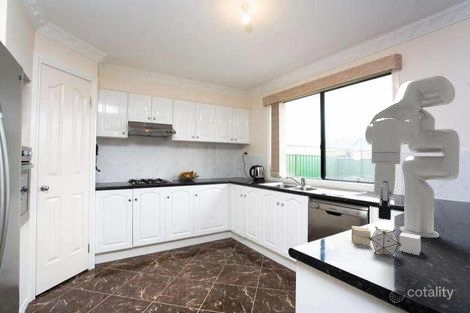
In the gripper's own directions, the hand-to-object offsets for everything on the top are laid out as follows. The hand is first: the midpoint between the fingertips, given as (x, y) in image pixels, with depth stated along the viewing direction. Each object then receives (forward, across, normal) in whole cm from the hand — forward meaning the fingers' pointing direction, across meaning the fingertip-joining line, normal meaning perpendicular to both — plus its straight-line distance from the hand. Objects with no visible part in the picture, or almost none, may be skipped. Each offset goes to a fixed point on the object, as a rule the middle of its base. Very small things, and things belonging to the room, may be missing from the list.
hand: (384, 218), depth 71 cm
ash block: (+11, -8, -7) cm, 16 cm away
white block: (+11, -10, +7) cm, 16 cm away
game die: (+11, 0, 0) cm, 11 cm away
